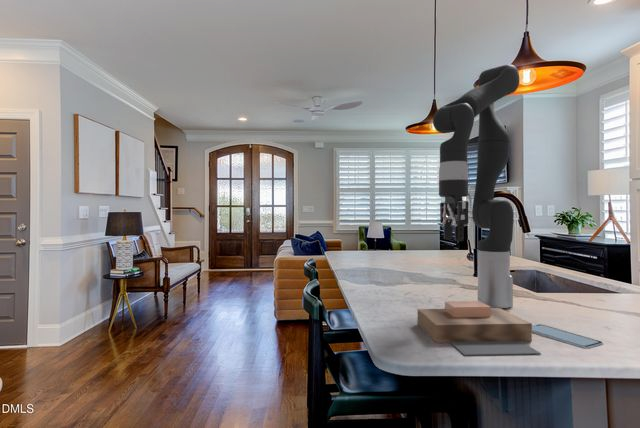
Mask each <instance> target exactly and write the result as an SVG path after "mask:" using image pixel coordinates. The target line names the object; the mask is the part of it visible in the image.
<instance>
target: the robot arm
mask: <svg viewBox="0 0 640 428" xmlns="http://www.w3.org/2000/svg"><path fill="white" fill-rule="evenodd" d="M478 77H479V78H478V81H477V83H478V84H477V86H476V87H474V88H472V89H470V90H468V91H467V92H466V93H464V94H463V95H462V96H460V97H459V98H458V99H456V100H454V101H452V102H449V103H447V104H445V105H443V106H441V107H440V108H438V109H437V110H436V111H435V113H434V115H433V118H432V119H433V120H432V124H433V127H434V129H435V130H436V131H437V132H438V133H440V134H451V133H453V135H452V136H451V137H450V138H448V139H447V140H445V141H443V142H441V143H440V146H439V166H438V167H439V168H438V196H439V197H440V198H444V201H443V202H440V203H439V205H440V206H439V213H440V214H439V216H440V217H439V218H440V219H439V220H440V223H441V224H442V226H443V239H444V240H452V239H454V241H455V242H464V241H465V233H464V232H465V227H466V225H468V224H469V210H470V209H469V208H470V207H469V201H468V200H463V198H465V197H468V196H469V166H468V146H469V141H470V138H471V134H472V131H473V126H474V123H475V118H476V117H477V116H478V138H477V153H476V154H477V157H476V159H477V161H476V163H477V164H476V166H477V167H476V178H475V179H476V180H475V188H474V194H473V202H472V209H471V214H472V215H471V216H472V220H473V223H474V225H475V226H476V227H478V228H480V229H489V232H488V235H487V237H485V238H483V239H481V240H479V241H478V242H477V301H480V302H482V303H484V304H486V305H488V306H490V307H491V308H501V309H509V308H513V307H514V300H513V299H514V295H513V294H514V277H513V276H512V275H511V251H510V250H511V245H512V242H513V236H514V234H513V233H514V220H515V219H514V218H515V217H514V209H513V206H512V204H511V203H510V201H508V200H506V199H502V198H501V199H500V198H499V199H494V198H495V197H494V196H495V189H496V184H497V182H498V179H499V178H500V176H501V174H502V172H503V171H504V169H505V168H506V165H507V164H508V161H509V158H510V145H511V144H510V143H511V141H510V138H511V137H510V135H509V133H508V130H507V129H506V128H505V126H504V125H503V124H502V122H501V121H500V119H499V117H498V116H497V114H496V111H495V103H496V102H498V101H499V100H500V99H502V98H505V97H506V96H509V95H512V94H514V93H515V92H516V91H517V90H518V88H519V85H520V73H519V70H518V68H517V67H516V66H515V65H513V64H502V65H500V66H496V67H491V68H488V69H484V70H483V71H482V72H481V73H480V74H479V76H478ZM453 225H454V236H453Z"/></svg>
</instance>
